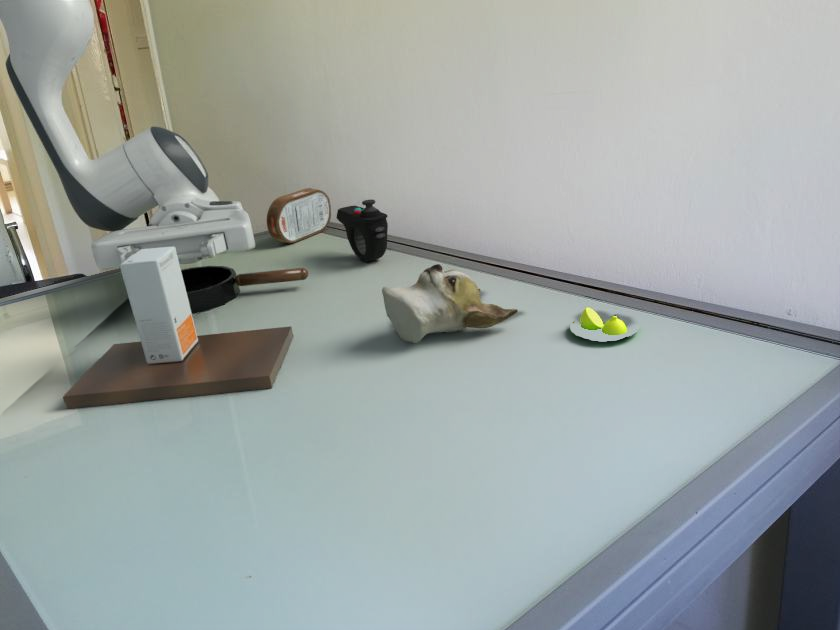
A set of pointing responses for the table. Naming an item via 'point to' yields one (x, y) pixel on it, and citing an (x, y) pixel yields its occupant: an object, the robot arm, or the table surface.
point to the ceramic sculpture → (439, 305)
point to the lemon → (594, 322)
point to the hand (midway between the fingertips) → (167, 257)
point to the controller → (365, 230)
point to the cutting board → (184, 369)
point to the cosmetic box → (159, 304)
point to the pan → (228, 284)
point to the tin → (298, 215)
